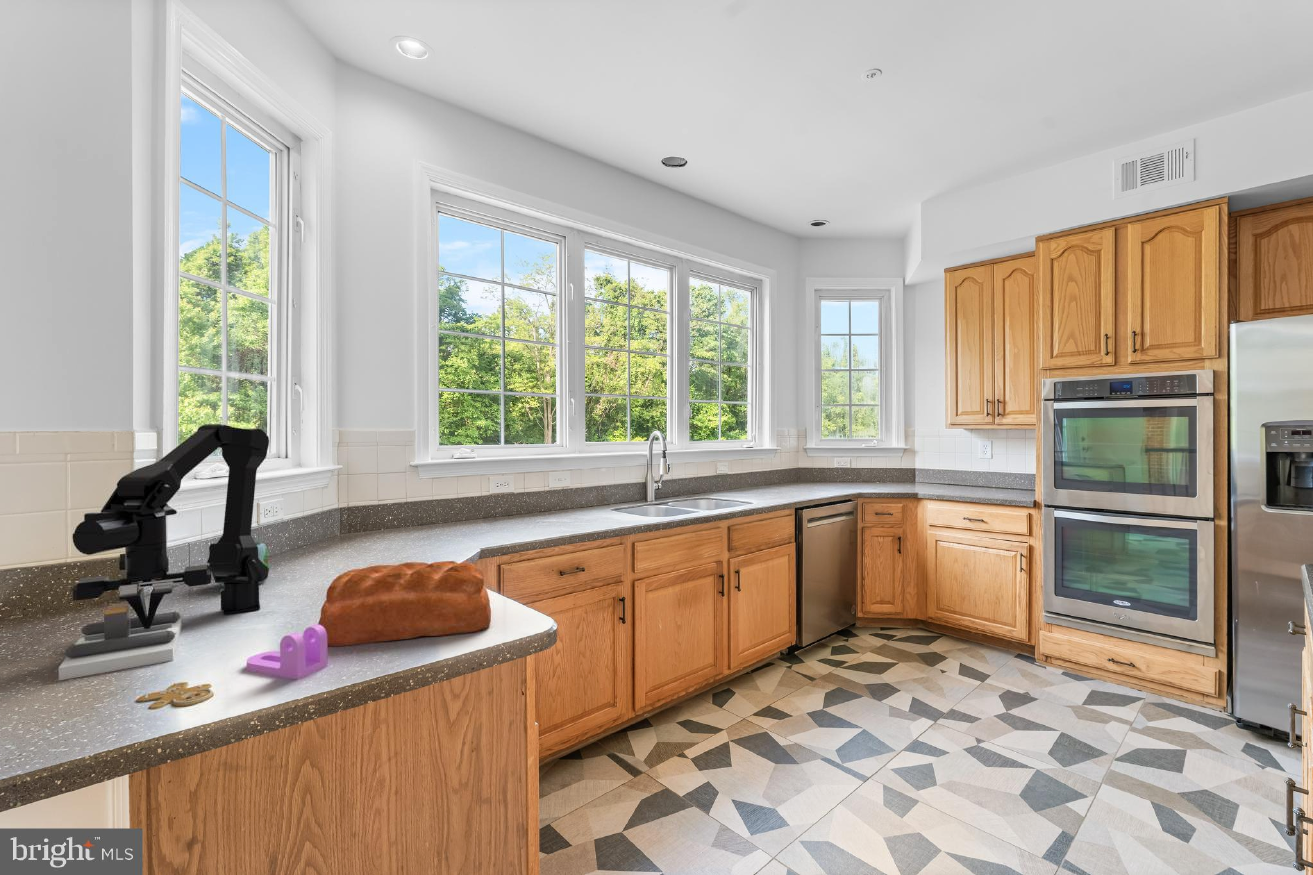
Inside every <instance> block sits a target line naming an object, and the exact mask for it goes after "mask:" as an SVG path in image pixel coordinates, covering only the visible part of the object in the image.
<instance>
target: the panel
mask: <svg viewBox="0 0 1313 875" xmlns="http://www.w3.org/2000/svg"><path fill="white" fill-rule="evenodd" d="M130 625H131V634H130V636H129V637H123V638H117V639H110V640H104V621H100V622H93V623H88V624H85V625H83V626H82V628H81V634H82V635H81V636H80V638H79V639H78V640H77V642H75V643H74V644H73V645H70V646H68V647H67V648H66V649H65V651H64V655H65V658H64V660H63V661H62V663H60V665H59V666H58V681H63V680H68V679H69V680H70V679H75V678H81V677H86V676H92V675H93V676H94V675H99V674H104V673H110V672H116V671H120V670H127V669H131V668H137V667H143V666H149V665H154V664H155V665H156V664H161V663H165V662H172V661H174V659H175V655H176V651H177V647H178V642H179V638H180V636H181V635H180V634H181V630H182V627H183V616H182V615H180V613H179V612H177V611H172V612H171V611H170V612H165V613H158V614H157V613H155V616H154V619H153V622H152V625H151V627H150V629H144V627H143V625H142V623H141V622H140V620H139V618H138V616H136V617H130Z"/></svg>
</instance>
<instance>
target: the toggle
mask: <svg viewBox="0 0 1313 875" xmlns="http://www.w3.org/2000/svg"><path fill="white" fill-rule="evenodd" d="M130 618H131V606H130V604H129V603H128V602H127V603H120V604H113V605H108V606H107V607H106V608H105V610H104V615H103V622H104V640H110V639H117V638H123V637H129V636H130V634H131V625H130Z"/></svg>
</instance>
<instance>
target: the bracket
mask: <svg viewBox="0 0 1313 875" xmlns="http://www.w3.org/2000/svg"><path fill="white" fill-rule="evenodd" d="M328 665H329V664H328V645H327V632H326V630H325V628H324V627H323V626H321V625H318V623H316V624H314V625H311V626H309V627H306V628H305V630H304V631H303V634H300V633H299V632H292V633H290V634H287V635H284V636H283V637H282V638H281V640H280V642H279V650H273V651H265V652H261V653H258V654H257V653H256V654H254V655H251V656H250V657H248V658H247V659H246V671H248V670H249V672H253V673H259V674H264V675H269V676H275V677H281V678H287V679H291V680H300V679H302V678H305V677H307V676H308V675H311V674H314V673H315V672H316V673H317V672H318V671H320V670H322V669H325V668H327V667H328Z"/></svg>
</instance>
